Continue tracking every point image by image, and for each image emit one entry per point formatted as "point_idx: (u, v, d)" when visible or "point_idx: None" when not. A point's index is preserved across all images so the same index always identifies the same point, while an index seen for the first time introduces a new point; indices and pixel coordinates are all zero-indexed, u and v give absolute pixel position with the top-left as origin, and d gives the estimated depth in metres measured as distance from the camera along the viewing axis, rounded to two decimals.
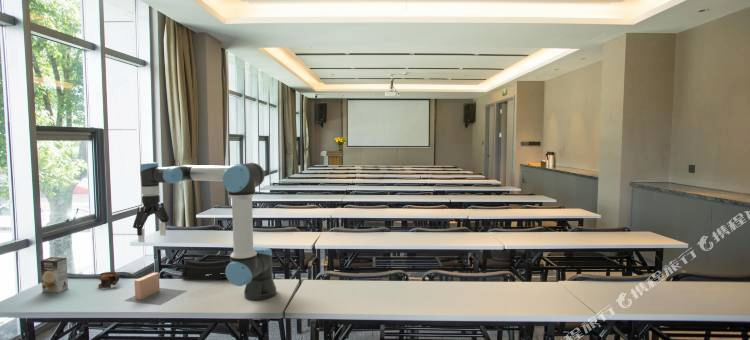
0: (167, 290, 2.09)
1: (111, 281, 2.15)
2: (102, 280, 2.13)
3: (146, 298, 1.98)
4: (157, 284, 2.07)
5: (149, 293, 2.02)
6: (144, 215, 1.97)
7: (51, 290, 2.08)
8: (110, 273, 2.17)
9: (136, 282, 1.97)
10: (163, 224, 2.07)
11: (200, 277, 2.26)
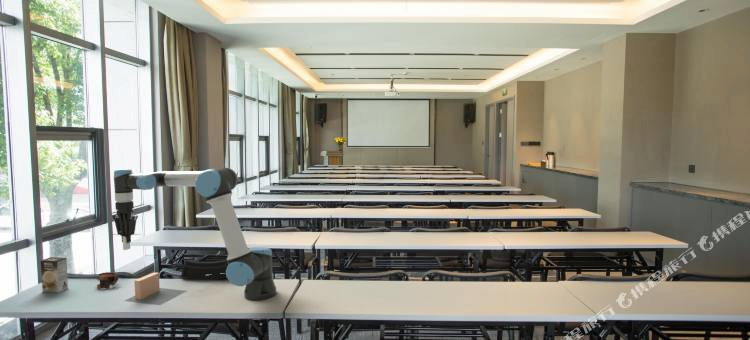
0: (167, 290, 2.09)
1: (110, 281, 2.14)
2: (101, 280, 2.13)
3: (146, 298, 1.98)
4: (157, 284, 2.07)
5: (149, 293, 2.02)
6: None
7: (51, 290, 2.08)
8: (109, 273, 2.16)
9: (136, 282, 1.97)
10: None
11: (200, 277, 2.26)
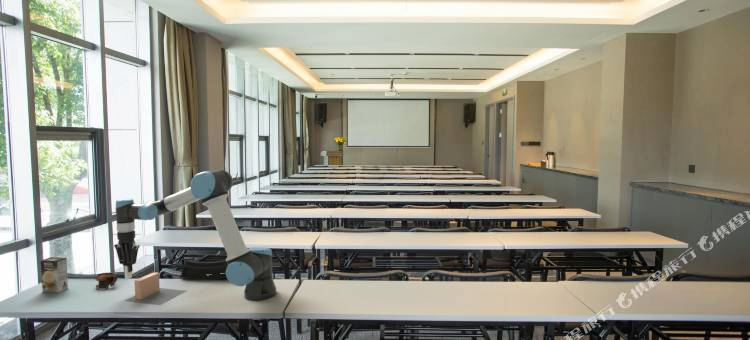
0: (167, 290, 2.09)
1: (109, 282, 2.14)
2: (100, 281, 2.12)
3: (146, 298, 1.98)
4: (157, 284, 2.07)
5: (149, 293, 2.02)
6: None
7: (51, 290, 2.08)
8: (108, 274, 2.16)
9: (136, 282, 1.97)
10: None
11: (199, 277, 2.26)
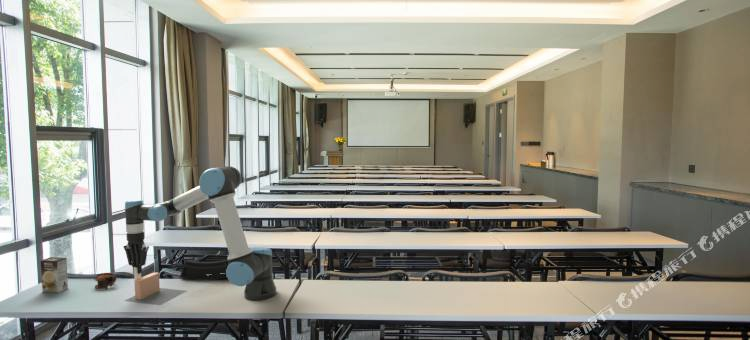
0: (167, 290, 2.09)
1: (108, 282, 2.13)
2: (99, 281, 2.12)
3: (146, 298, 1.98)
4: (157, 284, 2.07)
5: (149, 293, 2.02)
6: None
7: (51, 290, 2.08)
8: (107, 274, 2.15)
9: (136, 282, 1.97)
10: None
11: (199, 277, 2.26)
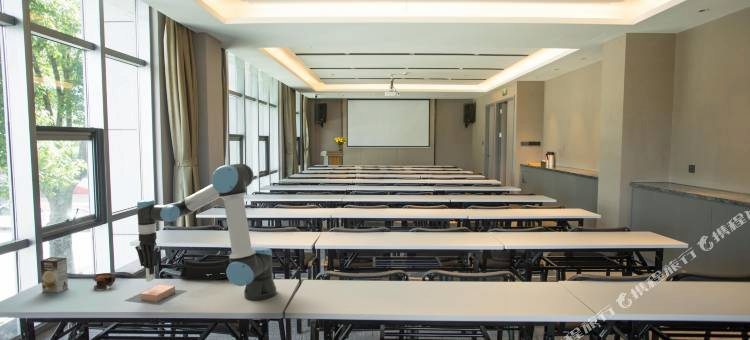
0: None
1: (107, 282, 2.13)
2: (98, 281, 2.12)
3: None
4: None
5: None
6: None
7: (51, 290, 2.08)
8: (106, 274, 2.15)
9: (155, 297, 1.95)
10: None
11: (199, 277, 2.26)
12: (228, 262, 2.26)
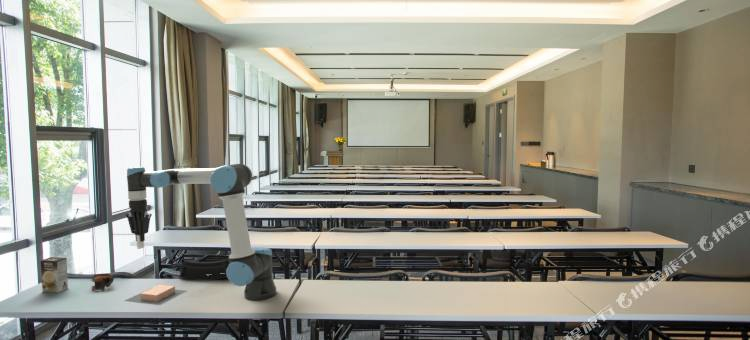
0: None
1: (105, 283, 2.12)
2: (96, 282, 2.11)
3: None
4: None
5: None
6: None
7: (51, 290, 2.08)
8: (104, 275, 2.14)
9: (155, 297, 1.95)
10: None
11: (198, 277, 2.26)
12: (227, 262, 2.26)
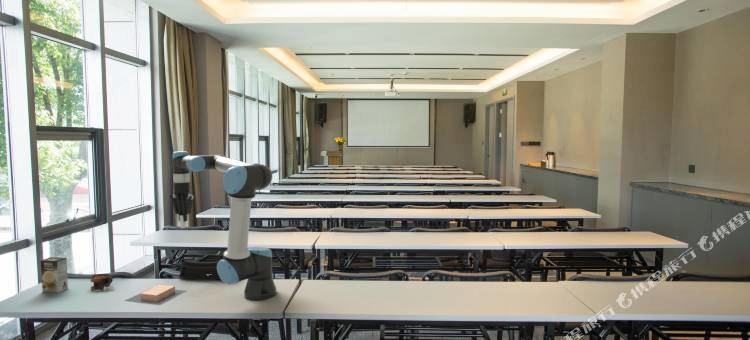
0: None
1: (104, 283, 2.12)
2: (95, 282, 2.10)
3: None
4: None
5: None
6: None
7: (51, 290, 2.08)
8: (103, 275, 2.14)
9: (155, 297, 1.95)
10: None
11: (198, 277, 2.26)
12: None
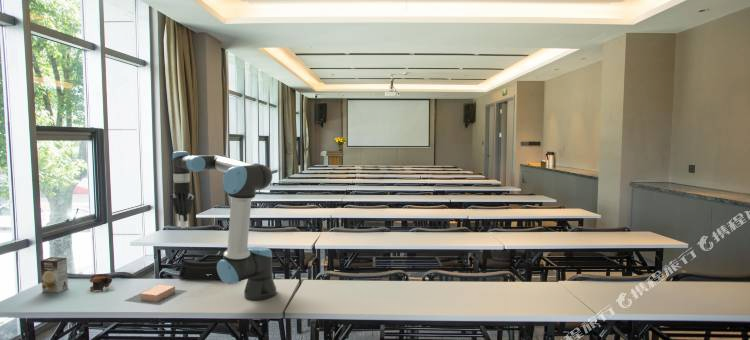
0: None
1: (103, 283, 2.12)
2: (94, 282, 2.10)
3: None
4: None
5: None
6: None
7: (51, 290, 2.08)
8: (102, 275, 2.13)
9: (155, 297, 1.95)
10: None
11: (198, 277, 2.26)
12: None
